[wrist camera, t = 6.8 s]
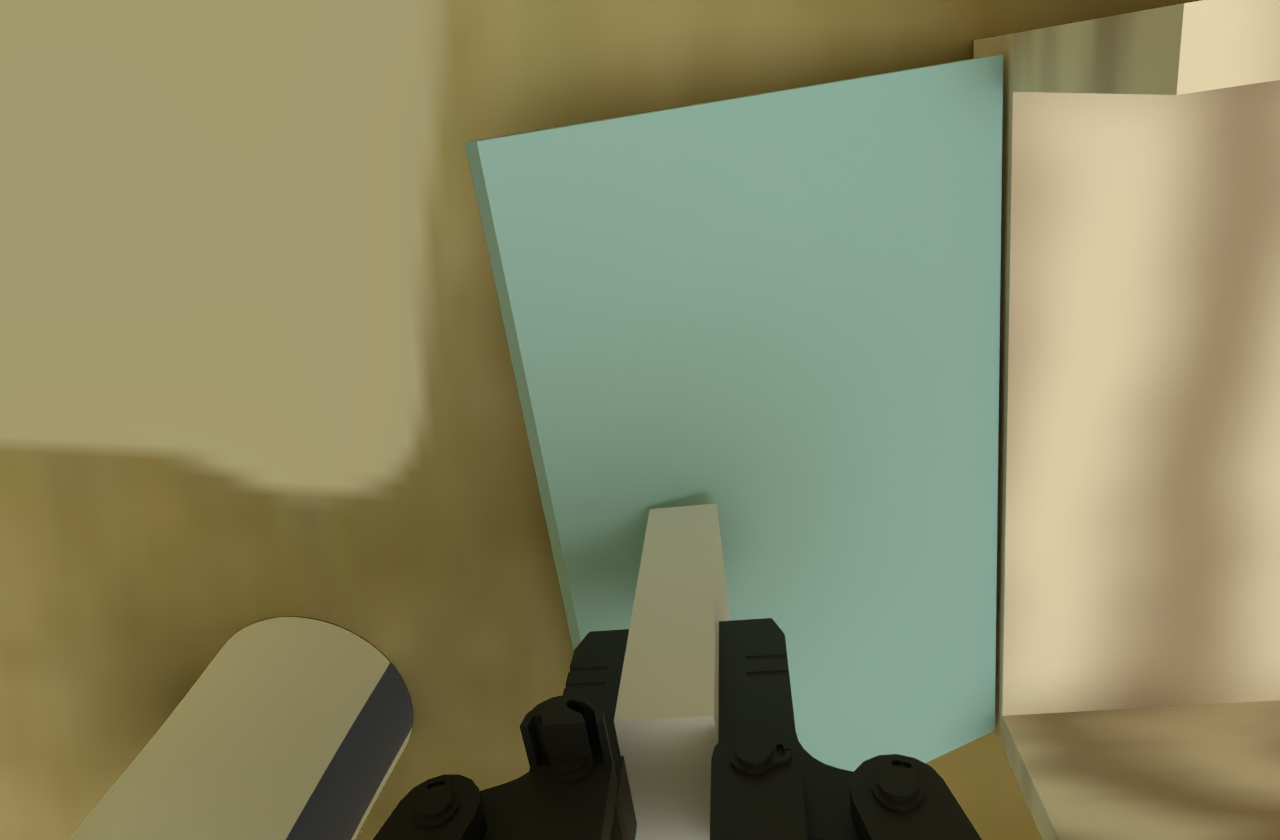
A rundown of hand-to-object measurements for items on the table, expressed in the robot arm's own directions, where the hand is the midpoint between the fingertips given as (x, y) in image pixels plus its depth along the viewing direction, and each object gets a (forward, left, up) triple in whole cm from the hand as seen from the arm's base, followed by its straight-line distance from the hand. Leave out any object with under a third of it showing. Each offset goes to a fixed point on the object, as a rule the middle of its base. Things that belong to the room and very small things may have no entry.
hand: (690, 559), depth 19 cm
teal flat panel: (+8, 0, -5) cm, 9 cm away
